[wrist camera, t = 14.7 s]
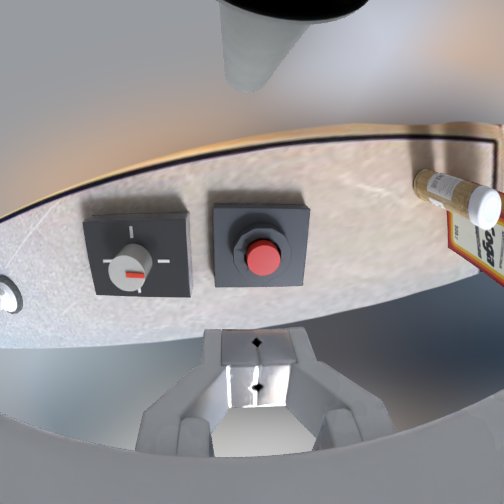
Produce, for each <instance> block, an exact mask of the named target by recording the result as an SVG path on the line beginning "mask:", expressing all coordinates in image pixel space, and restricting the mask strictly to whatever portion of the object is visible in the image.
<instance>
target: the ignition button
mask: <svg viewBox="0 0 504 504" xmlns="http://www.w3.org/2000/svg"><path fill="white" fill-rule="evenodd" d="M246 257H247V264H248V267H249V269H250V270H251V271H252V272H253V273H255V274H257V275H261V276H265V275H269V274H272V273H273V272H274V271H276V270H277V268H278V267H279V265H280V254H279V252H278V249H277V247H276V246H275V244H274V243H272V242H271V241H268V240H257V241H255V242H253V243H252V244H251V245H250V246H249V247H248V249H247V253H246Z"/></svg>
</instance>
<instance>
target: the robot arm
mask: <svg viewBox="0 0 504 504" xmlns="http://www.w3.org/2000/svg"><path fill="white" fill-rule="evenodd" d="M284 405H286V406H285V407H286V408H287V409H288V410H289V411H290V412H291V413H292V414H293V415H294V416H295V417H296V418H297V419H298V420H299V421H300V422H301V423H302V424H303V425H304V426H305V427H306V428H307V429H308V430H309V431H310V432H311V433H312V434H313V435H314V436H315V437H316V438H317V439H316V442H315V444H314V447H313V449H312V451H310V452H302V453H294V454H284V455H272V456H258V457H214V451H213V444H212V438H211V433H212V432H213V431H214V429H215V428H216V426H217V425H218V424H219V422H220V421H221V420H222V418H223V417H224V415H225V414H226V413H227V411H228V410H229V408H239V407H257V406H258V407H259V406H284ZM0 504H504V389H502V390H501V391H499V392H497V393H495V394H493V395H491V396H489V397H487V398H485V399H483V400H481V401H479V402H477V403H475V404H472V405H470V406H468V407H466V408H463V409H461V410H459V411H457V412H454V413H452V414H449V415H447V416H444V417H442V418H439V419H436V420H434V421H431V422H428V423H425V424H423V425H420V426H417V427H414V428H410V429H407V430H404V431H401V432H398V433H397V431H396V429H395V427H394V425H393V422H392V420H391V418H390V416H389V414H388V412H387V410H386V408H385V406H384V404H383V402H382V400H380V399H379V398H377V397H376V396H374V395H373V394H371V393H369V392H368V391H366V390H365V389H363V388H362V387H360V386H359V385H357V384H355V383H354V382H352V381H351V380H349V379H348V378H346V377H345V376H343V375H341V374H340V373H339V372H337V371H336V370H334V369H333V368H331V367H329V366H328V365H326V364H325V363H324V362H322V361H320V362H317V360H316V357H315V355H314V352H313V349H312V346H311V344H310V341H309V338H308V336H307V333H306V330H305V328H304V327H295V328H287V329H265V330H237V329H222V330H221V329H205V331H204V335H203V346H202V355H201V366H195V367H194V368H193V369H191V370H190V371H189V372H188V373H187V374H186V375H185V376H184V377H183V378H182V379H180V380H179V381H178V382H177V383H176V384H175V385H174V386H173V387H172V388H171V389H169V390H168V391H167V392H166V393H165V394H164V395H163V396H162V397H160V398H159V399H158V400H157V401H156V402H155V403H154V404H153V405H151V406H150V407H149V408H148V409H147V410H146V411H144V413H143V416H142V420H141V424H140V429H139V433H138V438H137V443H136V447H135V451H133V450H127V449H121V448H115V447H110V446H105V445H100V444H96V443H91V442H87V441H83V440H79V439H75V438H71V437H67V436H64V435H61V434H57V433H54V432H51V431H48V430H45V429H41V428H39V427H35V426H33V425H30V424H27V423H25V422H22V421H19V420H17V419H14V418H12V417H9V416H7V415H5V414H2V413H0Z"/></svg>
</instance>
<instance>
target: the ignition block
mask: <svg viewBox="0 0 504 504" xmlns="http://www.w3.org/2000/svg"><path fill="white" fill-rule="evenodd" d="M309 217H310V209H309V208H308V207H307V206H306V205H300V204H214V207H213V235H214V273H215V287H283V286H303V277H304V268H305V259H306V249H307V239H308V229H309ZM257 240H268V241H271V242H272V243H274V244H275V246H276V247H277V249H278V252H279V254H280V265H279V267H278V268H277V270H276V271H274V272H273V273H272V274H269V275H265V276H261V275H257V274H255V273H253V272H252V271H251V270H250V269H249V267H248V264H247V257H246V253H247V249H248V247H249V246H250V245H251V244H252V243H253V242H255V241H257Z"/></svg>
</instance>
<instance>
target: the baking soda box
mask: <svg viewBox="0 0 504 504" xmlns="http://www.w3.org/2000/svg"><path fill="white" fill-rule="evenodd" d="M471 183H473V184H476V185H480V184H477V183H474V182H471ZM480 186H483V185H480ZM496 191H497V190H496ZM497 192H498V194H499V196H500V199H501V213H500V216H499V219H498V221H497V222H496V224H495V225H494V226H493V227H492V228H490V229H487V230H485V229H482V228H480V227H478V226H476V225H474V224H473V223H472V222H471V221H470V220H468V219H466V218H464V217H462V216H460V215H458V214H455V213H452V212H450V211H448V210H447V222H448V248H450V249H451V250H453V251H454V252H456V253H457V254H459V255H460V256H462V257H463V258H464V259H466V260H467V261H469V262H470V263H472V264H473V265H474V266H476V267H477V268H479V269H480V270H481V271H483V272H484V273H485V274H487V275H488V276H490V277H491V278H492V279H494V280H495V281H496V282H497V283H499V284H500V285H501V286H503V287H504V193H502V192H500V191H497Z"/></svg>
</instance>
